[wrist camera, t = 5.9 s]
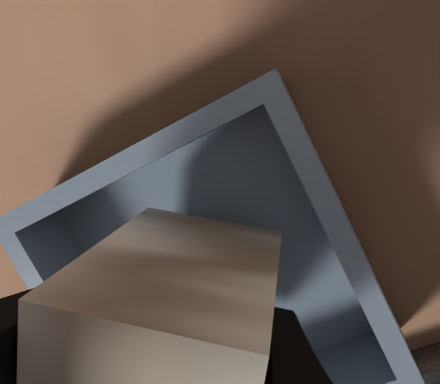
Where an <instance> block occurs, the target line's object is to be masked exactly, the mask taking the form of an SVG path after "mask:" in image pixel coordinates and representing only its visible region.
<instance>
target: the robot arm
mask: <svg viewBox="0 0 440 384" xmlns="http://www.w3.org/2000/svg"><path fill="white" fill-rule="evenodd" d="M32 289H34V288H32ZM32 289H29V290H26V291H23V292H20V293H17V294H14V295H11V296H7V297H4V298H1V299H0V384H17V343H18V299H20V298H21V297H23V296H24V295H25V294H27V293H28V292H30V291H31V290H32ZM264 384H333V382H332V381H331V379H330V378H329V376H328V374H327V373H326V371H325V370H324V368H323V366H322V365H321V363H320V361H319V359H318V358H317V356H316V354H315V352H314V351H313V349H312V347H311V345H310V343H309V341H308V339H307V337H306V335H305V333H304V331H303V329H302V327H301V324H300V322H299V320H298V317H297V315H296V314H295V312H294V311H293V310H288V309H283V308H278V307H274V315H273V324H272V334H271V344H270V354H269V360H268V366H267V371H266V377H265V382H264Z"/></svg>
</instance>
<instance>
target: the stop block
mask: <svg viewBox="0 0 440 384" xmlns="http://www.w3.org/2000/svg"><path fill="white" fill-rule="evenodd" d="M281 237H282V231H276V230H271V229H265V228H260V227H254V226H248V225H243V224H237V223H232V222H226V221H221V220H215V219H210V218H204V217H199V216H193V215H188V214H182V213H177V212H171V211H166V210H160V209H155V208H149V207H148V208H147V209H145V210H144V211H143V212H141V213H140V214H138V215H137V216H136V217H134V218H133V219H131V220H130V221H129V222H127V223H126V224H124V225H123V226H121V227H120V228H119V229H117V230H116V231H114V232H113V233H112V234H110V235H109V236H107V237H106V238H105V239H103V240H102V241H100V242H99V243H97V244H96V245H95V246H93V247H92V248H90V249H89V250H88V251H86V252H85V253H83V254H82V255H80V256H79V257H78V258H76V259H75V260H73V261H72V262H71V263H69V264H68V265H66V266H65V267H64V268H62V269H61V270H59V271H58V272H56V273H55V274H54V275H52V276H51V277H49V278H48V279H47V280H45V281H44V282H42V283H41V284H40V285H38V286H37V287H35V288H34V289H32V290H31V291H30V292H28V293H27V294H25V295H24V296H23V297H21V298H20V299H18V343H17V384H264V382H265V377H266V371H267V366H268V360H269V354H270V344H271V334H272V324H273V315H274V305H275V295H276V285H277V276H278V266H279V256H280V246H281Z"/></svg>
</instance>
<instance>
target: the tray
mask: <svg viewBox="0 0 440 384" xmlns="http://www.w3.org/2000/svg"><path fill="white" fill-rule="evenodd" d="M148 207H149V208H155V209H160V210H166V211H171V212H177V213H182V214H188V215H193V216H199V217H204V218H210V219H215V220H221V221H226V222H232V223H237V224H243V225H248V226H254V227H260V228H265V229H271V230H276V231H282V237H281V246H280V256H279V266H278V276H277V285H276V295H275V305H274V307H278V308H283V309H288V310H293V311H294V312H295V314H296V315H297V317H298V320H299V322H300V324H301V327H302V329H303V331H304V333H305V335H306V337H307V339H308V341H309V343H310V345H311V347H312V349H313V351H314V352H315V354H316V356H317V358H318V359H319V361H320V363H321V365H322V366H323V368H324V370H325V371H326V373H327V374H328V376H329V378H330V379H331V381H332V382H333V384H425V382H424V380H423V378H422V376H421V373H420V371H419V369H418V367H417V364H416V362H415V360H414V358H413V355H412V353H411V351H410V348H409V346H408V344H407V342H406V339H405V337H404V335H403V333H402V330H401V328H400V326H399V324H398V322H397V320H396V318H395V315H394V313H393V311H392V309H391V307H390V305H389V303H388V301H387V299H386V296H385V294H384V292H383V290H382V288H381V286H380V284H379V282H378V280H377V277H376V275H375V273H374V271H373V269H372V267H371V265H370V263H369V261H368V258H367V256H366V254H365V252H364V250H363V248H362V246H361V244H360V242H359V239H358V237H357V235H356V233H355V231H354V229H353V227H352V225H351V223H350V220H349V218H348V216H347V214H346V212H345V210H344V208H343V206H342V203H341V201H340V199H339V197H338V195H337V193H336V191H335V189H334V187H333V184H332V182H331V180H330V178H329V176H328V174H327V172H326V170H325V168H324V165H323V163H322V161H321V159H320V157H319V155H318V153H317V151H316V149H315V146H314V144H313V142H312V140H311V138H310V136H309V134H308V132H307V130H306V127H305V125H304V123H303V121H302V119H301V117H300V115H299V113H298V111H297V108H296V106H295V104H294V102H293V100H292V98H291V96H290V94H289V92H288V89H287V87H286V85H285V83H284V81H283V79H282V77H281V75H280V73H279V72H278V71H277V70H276V69H273V70H271V71H269V72H268V73H266V74H264V75H262V76H260V77H258V78H256V79H255V80H253V81H251V82H249V83H247V84H245V85H243V86H242V87H240V88H238V89H236V90H234V91H232V92H230V93H229V94H227V95H225V96H223V97H221V98H219V99H217V100H216V101H214V102H212V103H210V104H208V105H206V106H204V107H203V108H201V109H199V110H197V111H195V112H193V113H192V114H190V115H188V116H186V117H184V118H182V119H180V120H179V121H177V122H175V123H173V124H171V125H169V126H167V127H166V128H164V129H162V130H160V131H158V132H156V133H154V134H153V135H151V136H149V137H147V138H145V139H143V140H141V141H140V142H138V143H136V144H134V145H132V146H130V147H128V148H127V149H125V150H123V151H121V152H119V153H117V154H115V155H114V156H112V157H110V158H108V159H106V160H104V161H102V162H101V163H99V164H97V165H95V166H93V167H91V168H89V169H88V170H86V171H84V172H82V173H80V174H78V175H76V176H75V177H73V178H71V179H69V180H67V181H65V182H64V183H62V184H60V185H58V186H56V187H54V188H52V189H51V190H49V191H47V192H45V193H43V194H41V195H39V196H38V197H36V198H34V199H32V200H30V201H28V202H26V203H25V204H23V205H21V206H19V207H17V208H15V209H13V210H12V211H10V212H8V213H6V214H4V215H2V216H0V243H1V245H2V246H3V248H4V250H5V251H6V253H7V255H8V256H9V258H10V260H11V261H12V263H13V265H14V266H15V268H16V270H17V271H18V273H19V275H20V276H21V278H22V280H23V281H24V283H25V284H26V286H27V288H28V289H32V288H35V287H37V286H38V285H40V284H41V283H42V282H44V281H45V280H47V279H48V278H49V277H51V276H52V275H54V274H55V273H56V272H58V271H59V270H61V269H62V268H64V267H65V266H66V265H68V264H69V263H71V262H72V261H73V260H75V259H76V258H78V257H79V256H80V255H82V254H83V253H85V252H86V251H88V250H89V249H90V248H92V247H93V246H95V245H96V244H97V243H99V242H100V241H102V240H103V239H105V238H106V237H107V236H109V235H110V234H112V233H113V232H114V231H116V230H117V229H119V228H120V227H121V226H123V225H124V224H126V223H127V222H129V221H130V220H131V219H133V218H134V217H136V216H137V215H138V214H140V213H141V212H143V211H144V210H145V209H147V208H148Z"/></svg>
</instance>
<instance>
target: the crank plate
mask: <svg viewBox="0 0 440 384" xmlns="http://www.w3.org/2000/svg"><path fill="white" fill-rule="evenodd" d="M411 353H412V355H413V358H414V360H415V362H416V364H417V367H418V369H419V371H420V373H421V376H422V378H423V380H424V382H425V384H440V343H438V344H435V345H432V346H429V347H425V348H422V349H419V350H416V351H413V352H411Z"/></svg>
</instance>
